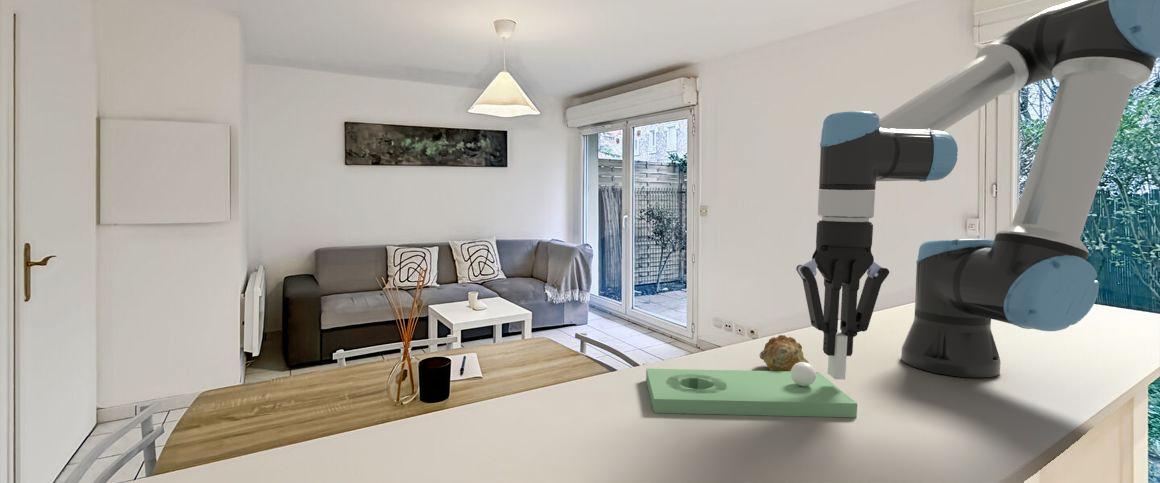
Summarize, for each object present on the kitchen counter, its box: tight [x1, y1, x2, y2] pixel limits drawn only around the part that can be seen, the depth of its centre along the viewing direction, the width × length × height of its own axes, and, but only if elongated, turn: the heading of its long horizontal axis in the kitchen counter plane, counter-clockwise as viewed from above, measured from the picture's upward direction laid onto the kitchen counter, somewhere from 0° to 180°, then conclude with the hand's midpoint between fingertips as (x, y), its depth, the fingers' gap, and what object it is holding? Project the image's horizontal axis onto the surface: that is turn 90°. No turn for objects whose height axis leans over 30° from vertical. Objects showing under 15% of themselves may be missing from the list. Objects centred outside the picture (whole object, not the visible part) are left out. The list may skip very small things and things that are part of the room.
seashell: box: [759, 334, 810, 371], centre depth 100 cm, size 9×8×10 cm
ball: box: [791, 362, 817, 386], centre depth 86 cm, size 4×4×4 cm
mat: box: [645, 368, 858, 418], centre depth 86 cm, size 28×14×2 cm, turn 88°
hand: (836, 376), depth 86 cm, fingers closed
